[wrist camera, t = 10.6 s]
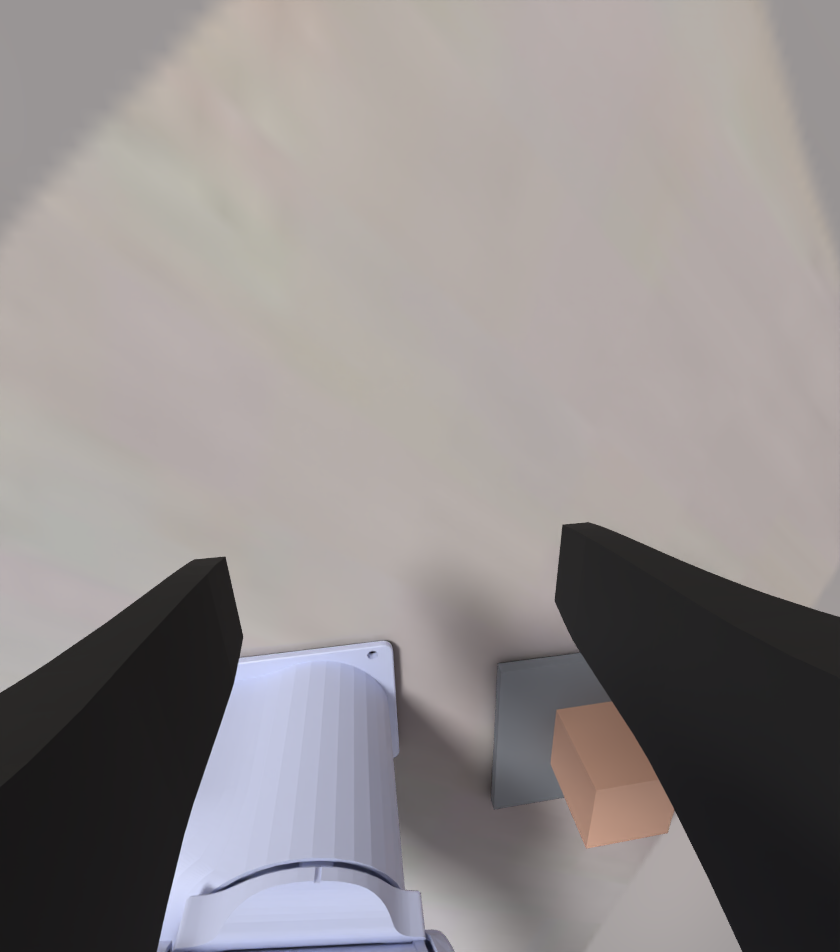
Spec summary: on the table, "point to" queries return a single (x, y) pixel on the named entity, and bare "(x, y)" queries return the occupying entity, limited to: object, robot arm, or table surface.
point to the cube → (607, 777)
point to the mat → (535, 723)
